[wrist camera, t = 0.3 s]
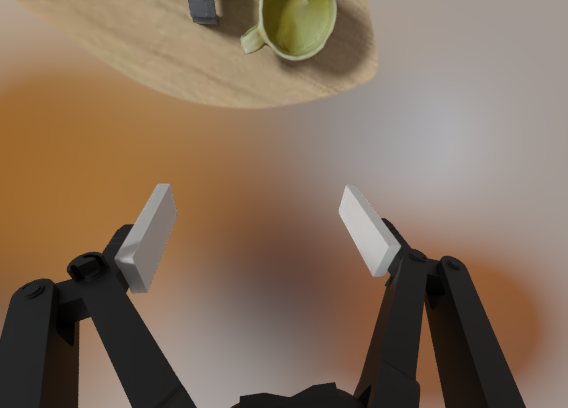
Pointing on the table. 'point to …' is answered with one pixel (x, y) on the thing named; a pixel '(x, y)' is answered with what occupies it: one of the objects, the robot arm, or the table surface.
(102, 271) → the robot arm
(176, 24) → the table surface
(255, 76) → the table surface
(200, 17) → the hollow metal rectangle ring
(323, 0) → the mug
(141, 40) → the table surface
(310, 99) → the table surface
